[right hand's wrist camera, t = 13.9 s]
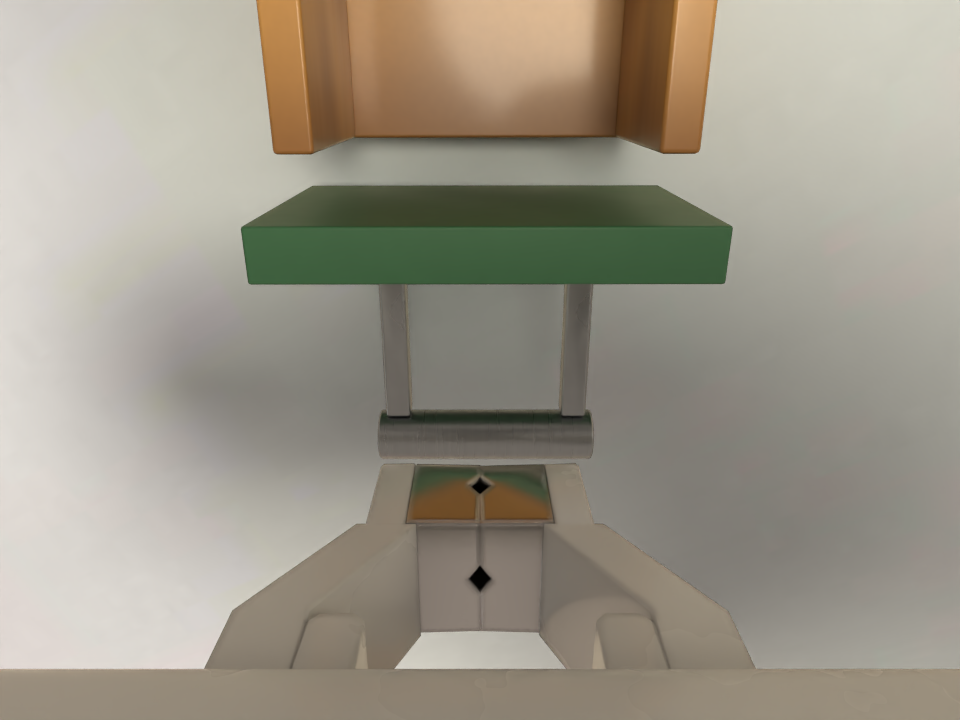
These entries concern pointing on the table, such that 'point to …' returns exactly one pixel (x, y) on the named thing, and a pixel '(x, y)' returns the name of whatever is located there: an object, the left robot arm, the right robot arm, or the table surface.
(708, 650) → the right robot arm
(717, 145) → the table surface
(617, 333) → the table surface
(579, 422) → the drawer
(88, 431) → the table surface
